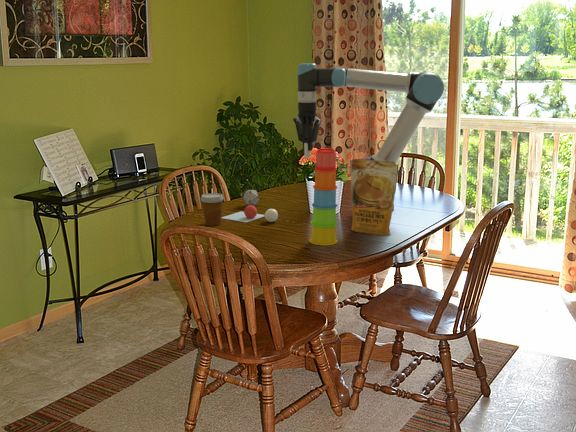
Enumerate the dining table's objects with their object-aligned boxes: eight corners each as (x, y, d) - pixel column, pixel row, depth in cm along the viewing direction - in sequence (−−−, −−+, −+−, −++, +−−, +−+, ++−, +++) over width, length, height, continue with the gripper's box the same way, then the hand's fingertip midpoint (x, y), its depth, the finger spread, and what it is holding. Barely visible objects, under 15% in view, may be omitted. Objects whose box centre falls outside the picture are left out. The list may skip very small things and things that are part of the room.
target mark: (266, 215, 304) (266, 215, 304) (246, 222, 293) (246, 222, 293) (241, 211, 312) (241, 211, 312) (220, 218, 301) (220, 217, 301)
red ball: (255, 201, 300) (247, 208, 304) (247, 204, 296) (239, 210, 299) (261, 213, 299) (253, 219, 303) (253, 215, 295) (245, 221, 298)
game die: (254, 213, 324) (266, 195, 325) (252, 211, 316) (264, 192, 317) (238, 203, 326) (250, 184, 326) (235, 200, 317) (247, 181, 318)
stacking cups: (335, 238, 267) (335, 146, 259) (338, 245, 257) (338, 150, 249) (308, 238, 267) (307, 147, 259) (310, 246, 257) (309, 151, 249)
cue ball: (270, 205, 295) (268, 216, 297) (263, 208, 290) (260, 220, 292) (281, 210, 292) (278, 222, 295) (274, 214, 288) (271, 225, 290)
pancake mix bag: (353, 227, 282) (353, 157, 276) (398, 233, 273) (399, 161, 266) (345, 231, 277) (345, 160, 270) (390, 237, 267) (392, 163, 260)
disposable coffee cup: (203, 227, 286) (202, 198, 283) (200, 222, 295) (198, 193, 292) (226, 225, 288) (225, 196, 285) (222, 220, 297) (221, 192, 294)
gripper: (288, 101, 294) (289, 158, 299) (315, 102, 286) (315, 160, 292) (299, 100, 300) (299, 155, 305) (325, 101, 292) (325, 158, 298)
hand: (307, 158), depth 299 cm, fingers closed
